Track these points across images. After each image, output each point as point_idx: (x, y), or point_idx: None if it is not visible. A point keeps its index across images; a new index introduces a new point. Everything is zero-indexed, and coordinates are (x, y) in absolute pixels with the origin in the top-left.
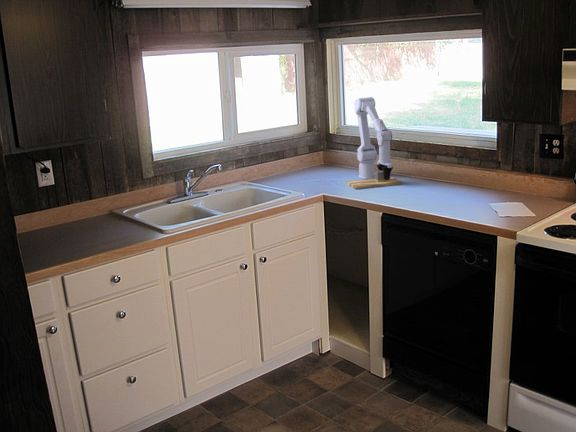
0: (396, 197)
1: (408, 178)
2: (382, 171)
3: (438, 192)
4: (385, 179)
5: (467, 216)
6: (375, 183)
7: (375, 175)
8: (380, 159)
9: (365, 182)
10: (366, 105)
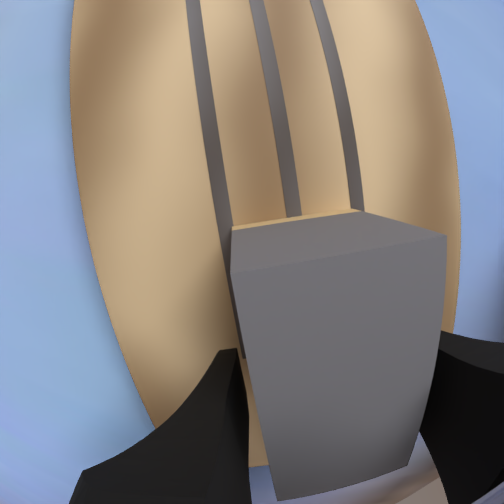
0: None
1: (383, 482)
2: (330, 411)
3: (3, 473)
4: (214, 357)
5: None
6: (129, 168)
7: (363, 224)
8: None
9: (253, 38)
10: None
